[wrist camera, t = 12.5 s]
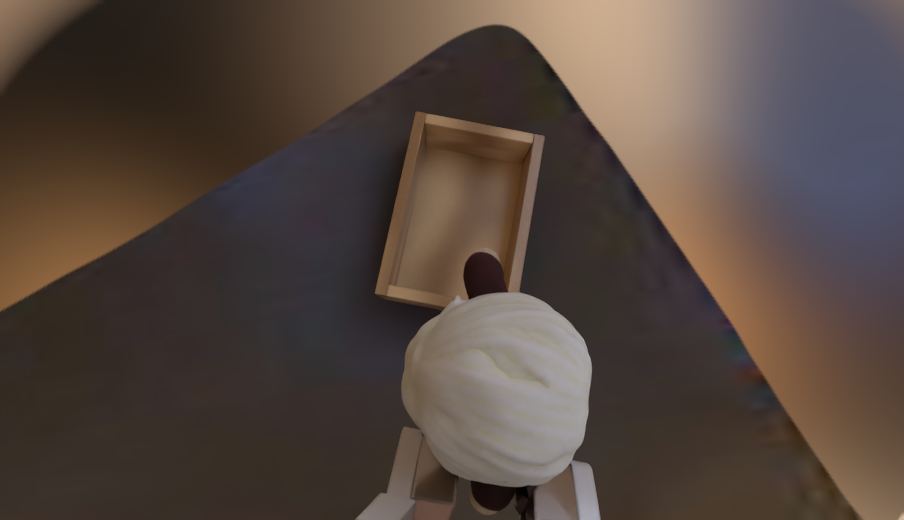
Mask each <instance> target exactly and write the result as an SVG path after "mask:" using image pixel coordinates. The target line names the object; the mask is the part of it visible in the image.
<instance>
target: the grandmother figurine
mask: <svg viewBox="0 0 904 520" xmlns="http://www.w3.org/2000/svg"><path fill="white" fill-rule="evenodd" d="M463 279H464V284H465V288H466V292H467V295H468V299H469V300H463V299H461V298H460V296H459V295H457V296H456V297H455V299H454V300H452V301H451V302H450V303H449V304H448V305H447V306H446V308H445V309H444V310H443V311H442V312H441V314H439V315H437V316H436V317H434V318H432V319H431V320H429V321H428V322H427V323H425V324H424V325H423V326H422V327H421V328H420V329H419V331H418V332H417V334H416V335H415V337H414V338H413V339H412V340H411V341H410V343H409V345H408V347H407V350H406V353H405V368H404V373H403V377H402V384H401V390H402V401H403V403H404V406H405V408H406V410H407V412H408V414H409V415H410V417H411V418H412V420H413V421H414V423H415V424H416V425H417V426H418V427H419V428H420V429H421V430H422V432H423V434H424V436H425V438H426V441H427V443H428V445H429V447H430V448H431V450H432V452H433V454H434V456H435V457H436V458H437V460H438V461H439V462H440V463H441V465H442V466H443V467H444V468H445V469H446V470H448V471H449V472H451V473H452V474H455V475H457V476H460V477H462V478H465V479H467V480H471V488H470V492H469V495H470V500H471V503H472V505H473V507H474V508H475V509H476V510H477V511H478V512H480V513H482V514H485V515H492V514H494V513H496V512H498V511H500V510H502V509H504V508H505V507H506V506H507V505H508V504H509V503H510V501H511V500H512V498H513V496H514V494H515V491H516V488H517V487H523V486H526V485H533V486H535V485H540V484H544V483H546V482H548V481H550V480H551V479H553V478H554V477H555V476H557V475H559V474H560V473H562V472H563V471H564V470H565V469H566V468H567V467H568V465H569V464H570V462H571V461H572V459H573V456H574V454H575V451H576V450H577V449H578V448H579V447H580V445H581V444H582V442H583V438H584V434H585V426H586V421H587V417H588V398H589V390H590V384H591V374H592V364H591V360H590V357H589V355H588V350H587V347H586V344H585V341H584V339H583V338H582V337H581V335H580V334H579V333H578V332H577V331H576V330H575V328H574V327H573V325H572V324H571V323H570V322H569V321H568V320H567V319H566V318H565V317H563V316H562V315H560V314H559V313H558V312H555V311H554V310H553V309H552V308H551V307H550V306H549V305H548V304H546V303H545V302H543V301H541V300H539V299H537V298H535V297H532V296H530V295H526V294H523V293H520V292H509V291H508V290H507V288H506V285H505V281H504V272H503V268H502V266H501V264H500V260H499V257H498V256H497V254H496V253H495V252H494V251H492V250H491V249H488V248H481V249H478V250H476V251H475V252H473V253H472V255H471V256H470V257H469V258H468V260H467V261H466V263H465V267H464V273H463Z"/></svg>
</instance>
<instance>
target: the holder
mask: <svg viewBox="0 0 904 520" xmlns="http://www.w3.org/2000/svg"><path fill="white" fill-rule="evenodd" d="M544 139H545V136H542V135H536V134H531V133H526V132H520V131H515V130H510V129H505V128H499V127H494V126H489V125H484V124H479V123H473V122H468V121H463V120H458V119H453V118H447V117H442V116H437V115H432V114H427V115H426V113H422V112H416V113H415V117H414V122H413V126H412V131H411V135H410V139H409V144H408V148H407V153H406V157H405V161H404V166H403V170H402V175H401V179H400V183H399V188H398V192H397V197H396V201H395V206H394V210H393V214H392V219H391V223H390V228H389V232H388V236H387V241H386V245H385V250H384V254H383V259H382V263H381V267H380V272H379V276H378V281H377V285H376V289H375V294H376V295H378V296H380V297H382V298H383V299H386V300H391V301H396V302H401V303H407V304H412V305H417V306H422V307H427V308H432V309H437V310H442V311H443V310H444V309H445V308H446V306H447V305H448V304H449V303H450V302H451V301H452V300H454V299H455V297H456V296H457V295H459V296H460V298H461V299H463V300H469V299H468V295H467V292H466V288H465V284H464V279H463V273H464V267H465V263H466V261H467V260H468V258H469V257H470V256H471V255H472V253H473V252H475V251H476V250H478V249H481V248H488V249H491V250H492V251H494V252H495V253H496V254H497V256H498V257H499V260H500V264H501V266H502V268H503V272H504V281H505V285H506V288H507V290H508V291H509V292H519V290H520V284H521V278H522V272H523V266H524V260H525V254H526V248H527V242H528V235H529V229H530V223H531V217H532V211H533V205H534V199H535V193H536V187H537V181H538V175H539V169H540V163H541V157H542V151H543V145H544Z"/></svg>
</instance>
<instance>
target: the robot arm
mask: <svg viewBox="0 0 904 520" xmlns="http://www.w3.org/2000/svg"><path fill="white" fill-rule="evenodd" d="M422 434H423V432H422V430H419V429H413V428H408V427H404V428H403V430H402V433H401V436H400V440H399V445H398V449H397V453H396V457H395V461H394V465H393V469H392V473H391V477H390V481H389V485H388V490H387V494H385V493H380V494H379V495H378V496H377V497H376V498H375V499H374V500H373V501H372V502H371V503H370V504H369V505H368V507H367V508H366V509H365V510H364V511H363V512H362V513H361V514H360V515H359V516H358V517H357V518H356V519H355V520H451V516H452V513H453V510H454V507H455V499H456V490H457V482H458V476H457V475H455V474H452V473H451V472H449V471H448V470H446V469H445V468H444V467H443V466H442V465H441V463H440V462H439V461H438V460H437V458H436V457H435V456H434V454H433V452H432V450H431V448H430V447H429V445H428V443H427V441H426V438H425V436H424V434H423V436H422ZM421 440H422V441H421ZM420 445H421V446H420ZM419 450H420V451H419ZM410 496H411V497H410ZM515 508H516V510H517V511H518V513H519V515H520V516H519V518H518V520H601V519H600V513H599V507H598V501H597V495H596V489H595V483H594V477H593V471H592V468H591V466H590V465H589V464H588V463H584V462H579V461H574V460H572V461H571V462H570V464H569V465H568V467H567V468H566V469H565V470H564V471H563V472H562V473H560V474H559V475H557V476H555V477H554V478H553V479H551V480H550V481H548V482H546V483H544V484H540V485H535V486H533V485H526V486H523V487H517V488H516V491H515Z"/></svg>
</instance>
